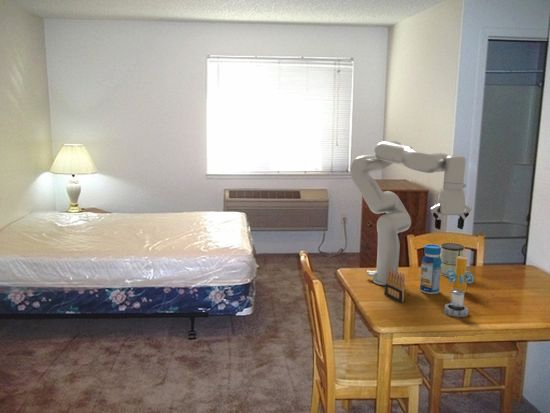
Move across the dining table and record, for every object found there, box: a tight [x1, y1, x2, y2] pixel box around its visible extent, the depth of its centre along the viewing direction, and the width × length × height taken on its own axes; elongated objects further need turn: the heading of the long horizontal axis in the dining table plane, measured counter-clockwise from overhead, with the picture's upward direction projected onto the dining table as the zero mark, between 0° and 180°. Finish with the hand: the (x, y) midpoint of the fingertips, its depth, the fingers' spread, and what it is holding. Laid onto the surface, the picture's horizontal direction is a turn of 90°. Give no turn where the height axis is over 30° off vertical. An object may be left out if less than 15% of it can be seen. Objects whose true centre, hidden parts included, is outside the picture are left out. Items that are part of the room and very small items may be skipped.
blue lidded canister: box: [419, 243, 442, 295], centre depth 218 cm, size 8×8×20 cm
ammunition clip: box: [384, 268, 406, 304], centre depth 209 cm, size 11×2×12 cm, turn 26°
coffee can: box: [440, 242, 465, 278], centre depth 243 cm, size 10×10×14 cm
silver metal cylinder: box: [450, 289, 466, 310], centre depth 195 cm, size 5×5×8 cm
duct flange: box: [443, 302, 469, 319], centre depth 196 cm, size 9×9×2 cm
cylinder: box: [446, 256, 475, 293], centre depth 219 cm, size 12×10×15 cm
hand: (448, 228), depth 206 cm, fingers open, 9 cm apart
